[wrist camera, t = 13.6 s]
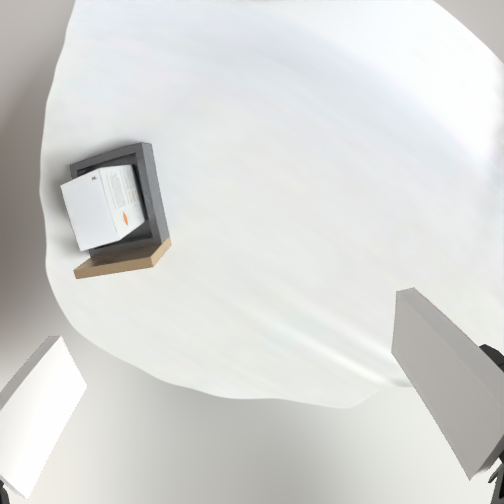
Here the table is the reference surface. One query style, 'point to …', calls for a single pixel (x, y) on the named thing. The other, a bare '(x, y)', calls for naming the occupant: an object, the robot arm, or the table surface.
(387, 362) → the table surface
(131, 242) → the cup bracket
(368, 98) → the table surface
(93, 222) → the small box
